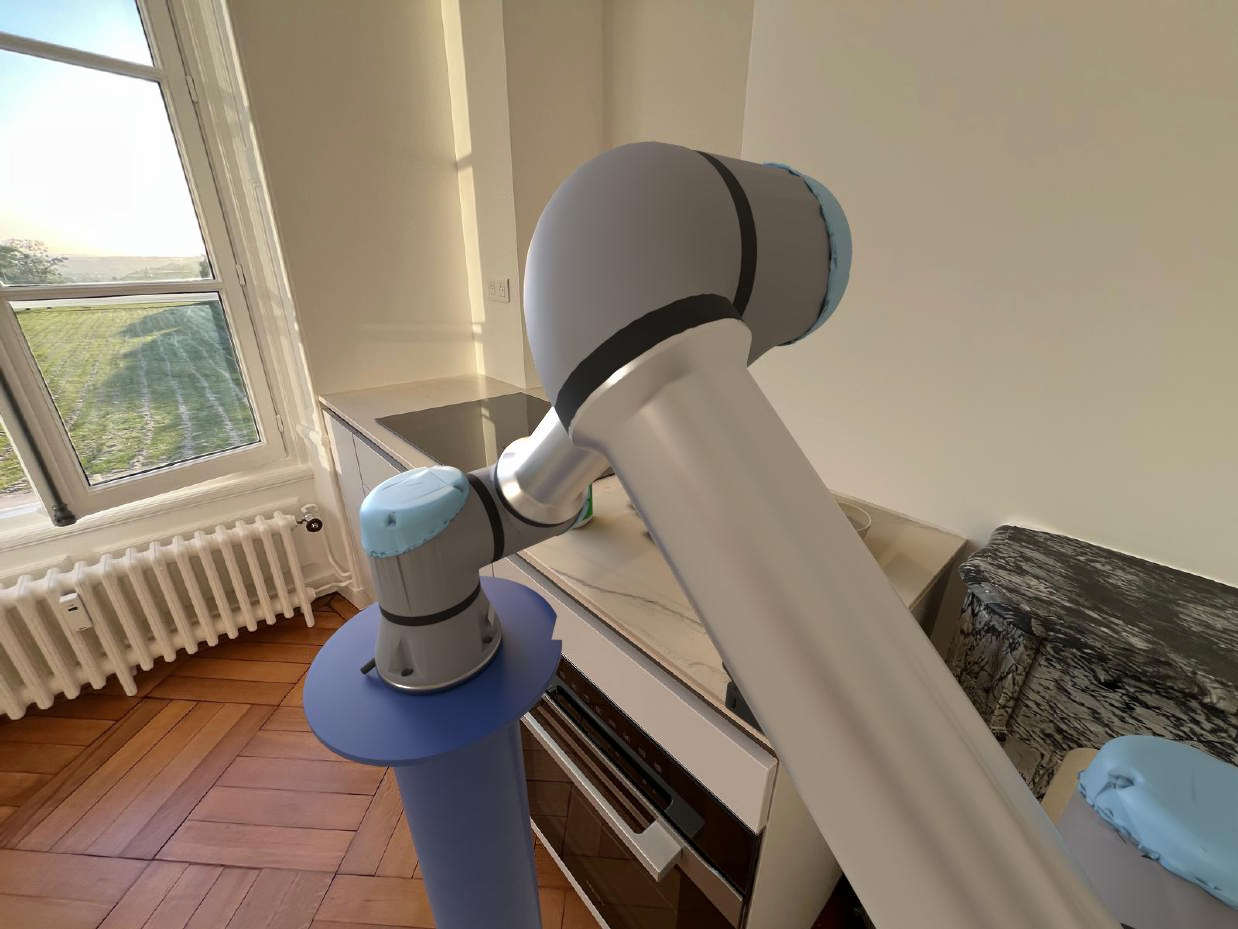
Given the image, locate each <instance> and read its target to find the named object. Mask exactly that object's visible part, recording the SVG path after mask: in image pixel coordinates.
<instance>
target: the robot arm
mask: <svg viewBox="0 0 1238 929" xmlns="http://www.w3.org/2000/svg"><path fill="white" fill-rule="evenodd" d="M844 211H845V210H844V209H843V208H842V205H841V204H840V202H839V201H838V199H837V197H836V196H835V195H834V194H833V192H832V191H830V189H829V188H828V187H827V186H825V185H824V184H823V183H822V182H820V181H819V180H817V179H816V178H813V177H811V176H809V175H806V174H803V173H802V172H800V171H798V170H796V169H794V168H792V167H791V166H789V165H787V164H785V163H777V162H773V161H770V162H769V161H768V162H766V161H765V162H762V163H758V162H754V161H749V160H744V159H739V158H735V157H730V156H726V155H721V154H717V153H712V152H706V151H703V150H697V149H691V148H689V147H686V146H684V145H678V144H673V143H667V142H662V141H656V140H653V141H652V140H651V141H639V142H632V143H625V144H622V145H620V146H615V147H613V148H610V149H607V150H605V151H603V152H601V153H599V154H597V155H596V156H594V157H592V158H590V159H589V160H588V161H586V162H584V163H582V164H581V165H580V166H578V168H577V169H576V170H574V172H572V173H571V174H570V175H569V176H568V177H567V178H566V179H564V181H563V182H561V184H560V185H558V188H557V189H556V190H555V191H554V193H553V194H552V196H551V198H550V199H549V201H548V202H547V205H545V207H544V208H543V211H542V213H541V214H540V216H539V218H538V219H537V220H538V221H537V224H536V226H535V229H534V232H533V235H532V237H531V241H530V244H529V247H528V251H527V255H526V262H525V267H524V268H525V270H524V278H523V312H524V320H525V328H526V335H527V336H526V337H527V340H528V344H529V348H530V352H531V356H532V359H533V363H534V364H533V365H534V367H535V371H536V373H537V376H538V378H539V381H540V382H541V386H542V388H543V390H544V393H545V396H546V397H547V399H548V401H549V402H550V404H551V408H550V409H549V410H548V412H547V413H546V415H544V418H543V419H542V420H541V422H540V423H539V424H538V426H537V427H536V429H535V430H534V431H533V433H532V434H531V435H529V436H524V437H521V438H518V439H517V440H515V441H513V442H512V443H510V445H508V446H507V447H506V448H505V449H504V451H503V453H502V454H501V455H500V457H499V458H498V459H497V461H496V463H494V464H492V465H489V466H485V467H482V468H479V469H475V470H472V471H469V472H466V473H464V472H463V471H461V469H458V468H457V467H454V466H450V465H441V464H439V465H434V466H431V467H428V466H422V467H421V466H420V467H416V468H413V469H409V470H406V471H404V472H401V473H399V474H397V475H394V476H392V477H390V478H388V479H386V480H385V481H383V482H381V483H380V484H378V485H377V486H376V487H374V488H373V489H371V491H370V492H369V494H368V495H367V496H366V497H365V498H364V499H363V501H362V503H361V505H360V507H359V508H360V509H359V515H358V516H359V524H360V534H361V545H362V548H363V550H364V552H365V553H366V557H367V562H368V565H369V566H368V567H369V570H370V574H371V578H372V582H373V587H374V590H375V595H376V599H377V602H378V603H379V608H380V612H381V615H380V621H379V626H378V632H377V638H376V643H375V649H374V658H372V659H371V660H370V661H369V662H368V663H366V664H365V665H364V666H363V667H361V668H360V671H361V672H362V674H364V675H366V674H367V673H368V672H369V671H371V670H372V669H373V668H374V667H376V669H377V673H378V676H379V678H380V680H381V681H382V682H383V684H385V685H386V686H387V687H388V688H390V689H391V690H393V691H395V692H398V693H401V694H405V695H411V696H428V695H435V694H440V693H444V692H448V691H451V690H453V689H456V688H459V687H461V686H463V685H465V684H467V683H468V682H470V681H472V680H473V679H475V678H476V677H478V676H479V675H480V674H482V673H483V672H484V671H485V670H486V669H487V668H488V667H489V666H490V665H491V664H492V662H493V661H494V660H495V658H496V657H497V655H498V653H499V651H500V648H501V644H502V630H501V623H500V620H499V618H498V615H497V613H496V611H495V610H494V608H493V606H492V605H491V603H490V601H489V600H488V598H487V596H486V594H485V593H484V591H483V589H482V588H481V583H480V576H481V575H480V570H481V569H482V568H485V567H486V566H489V565H491V564H493V563H494V564H495V563H496V562H499V561H500V560H503V559H506V558H508V557H509V556H512V555H514V554H517V553H518V552H519V553H520V552H521V551H524V550H526V549H529V548H530V547H534V546H535V545H538V544H540V543H542V542H545V541H547V540H550V539H552V538H554V537H560V536H562V535H564V534H566V533H568V532H569V531H570V530H572V529H574V528H573V527H574V526H576V525H577V524H579V523H580V522H581V521H582V519H583V518H584V516H585V515H586V513H587V510H588V507H589V503H588V501H587V499H588V498H589V497H590V487H589V485H590V484H591V483H592V484H593V482H595V481H596V480H597V479H598V478H599V477H600V476H601V475H602V474H603V473H605V472H606V470H608V469H609V468H610V467H611V469H612V471H613V473H614V475H615V476H616V478H617V480H618V481H619V483H620V485H621V486H622V489H623V490H624V491H625V494H626V495H627V497H628V498H629V500H630V502H631V504H632V507H633V508H634V507H635V508H634V509H635V511H636V512H637V514H638V516H639V518H640V519H641V521H642V522H643V525H644V527H645V529H646V531H647V533H648V532H649V533H650V535H651V537H652V541H653V542H654V544H655V546H656V547H657V549H658V551H659V552H660V554H661V556H662V558H663V560H664V561H665V564H666V565H667V567H668V568H669V570H670V572H671V574H672V575H673V578H674V579H675V581H676V582H677V584H678V586H679V588H680V589H681V591H682V593H683V594H684V596H685V598H686V600H687V602H688V603H689V605H690V607H691V608H692V610H693V613H695V616H696V618H697V619H698V620H699V621H698V622H700V624H701V626H702V628H703V629H704V631H705V633H706V634H707V637H708V638H709V640H710V642H711V643H712V645H713V647H714V649H715V651H716V652H717V654H718V655H719V657H720V659H721V666H722V668H723V670H724V672H725V674H726V675H727V677H728V678H729V679H730V681H728V682H727V684H726V692H725V701H724V706H725V709H727V710H728V711H730V712H731V713H732V714H734V715H735V716H736V717H738V718H739V719H740V720H742V721H743V722H745V723H746V724H748V725H749V726H750V727H752V729H755V730H756V731H757V732H758V733H760V734H761V735H763V736H764V737H766V740H767V741H768V743H769V744H770V747H771V748H772V750H773V751H774V753H775V755H776V756H777V758H778V760H779V762H780V763H781V765H782V767H783V769H784V771H785V772H786V774H787V776H788V777H789V779H790V781H791V783H792V785H793V786H794V788H795V790H796V792H797V793H798V795H799V797H800V798H801V800H802V802H803V804H804V805H805V807H806V809H807V810H808V812H809V814H810V816H811V817H812V820H813V821H814V823H815V824H816V826H817V829H818V830H819V831H820V833H821V835H822V837H823V839H824V841H825V842H826V844H827V846H828V847H829V849H830V851H831V853H832V854H833V856H834V858H835V860H836V861H837V863H838V865H839V866H840V868H841V870H842V872H843V873H844V875H845V877H846V878H847V880H848V882H849V884H850V885H851V887H852V890H853V891H854V892H855V894H856V896H857V898H858V899H859V901H860V903H861V905H862V906H863V908H864V910H865V912H866V913H867V915H868V917H869V919H870V921H871V923H872V924H873V925H874V927H875V929H1238V767H1237V766H1235V765H1234V764H1232V763H1229V762H1225V761H1223V760H1220V759H1219V758H1217V757H1215V756H1213V755H1210V754H1208V753H1206V752H1204V751H1202V750H1201V749H1199V748H1197V747H1195V746H1191V745H1189V744H1186V743H1184V742H1179V741H1176V740H1172V739H1168V738H1164V737H1161V736H1153V735H1146V734H1145V735H1144V734H1127V735H1126V734H1125V735H1121V736H1118V737H1115V738H1112V739H1110V740H1109V741H1107V742H1105V743H1104V744H1103V745H1102V746H1101V748H1100V749H1099V751H1098V752H1097V754H1096V755H1095V756H1094V758H1093V759H1092V760H1091V762H1090V764H1089V765H1088V766H1087V767H1086V769H1081V770H1080V771H1079V772H1077V775H1076V779H1077V780H1078V782H1077V783H1076V786H1075V788H1074V790H1073V792H1072V794H1071V795H1070V798H1069V799H1068V802H1067V804H1066V806H1065V807H1064V809H1063V811H1062V813H1061V816H1060V817H1059V819H1058V821H1057V823H1056V824H1054V822H1053V821H1052V820H1051V819H1050V817H1049V815H1048V814H1047V813H1046V811H1045V809H1044V808H1043V806H1042V805H1041V803H1040V802H1039V800H1038V799H1037V798H1036V796H1035V794H1034V793H1033V792H1032V790H1031V789H1030V787H1029V786H1028V785H1027V783H1026V782H1025V780H1024V778H1023V777H1022V775H1021V774H1020V772H1019V771H1018V769H1017V768H1016V766H1015V765H1014V764H1013V762H1012V760H1011V759H1010V757H1009V756H1008V754H1006V751H1005V750H1004V749H1003V747H1002V746H1001V744H1000V742H999V741H998V739H997V738H996V737H995V735H994V734H993V732H992V730H990V728H989V726H988V725H987V723H986V722H985V721H984V719H983V717H982V716H981V715H980V713H979V711H978V710H977V709H976V706H974V704H973V702H972V701H971V699H970V698H969V696H968V695H967V694H966V692H965V690H964V689H963V687H962V686H961V684H960V683H959V682H958V680H957V679H956V677H955V676H954V675H953V672H952V671H951V670H950V668H949V667H948V665H947V664H946V662H945V661H944V659H943V657H942V656H941V655H940V653H939V652H938V650H937V649H936V647H935V646H934V645H933V643H932V641H931V640H930V639H929V637H928V636H927V634H926V633H925V631H924V630H923V627H921V625H920V623H919V622H918V621H917V619H916V618H915V616H914V615H913V613H912V612H911V610H910V609H909V608H908V605H907V604H906V603H905V601H904V600H903V598H902V597H901V595H900V594H899V593H898V591H897V590H896V588H895V586H894V585H893V584H892V582H891V581H890V579H889V578H888V576H887V575H886V573H885V572H884V570H883V568H882V567H881V566H880V564H879V562H877V560H876V558H875V557H874V555H873V554H872V553H871V551H870V549H869V548H868V546H867V545H866V543H865V541H864V539H863V540H862V539H861V537H860V536H859V535H858V533H857V532H856V530H855V529H854V527H853V526H852V524H851V523H850V521H849V520H848V518H847V517H846V515H845V514H844V512H843V511H842V509H841V508H840V506H839V505H838V503H837V502H836V499H835V498H834V496H833V495H832V493H831V491H830V489H829V488H828V486H826V483H825V482H824V481H823V479H822V478H821V476H820V475H819V474H818V472H817V470H816V469H815V467H814V466H813V464H812V463H811V462H810V460H809V459H808V457H807V456H806V454H805V452H804V451H803V450H802V448H801V446H800V445H799V444H798V442H797V441H796V439H795V437H794V436H793V435H792V433H791V432H790V430H789V429H788V427H787V426H786V424H785V422H783V420H782V418H781V417H780V415H779V414H778V413H777V411H776V410H775V408H774V406H773V405H772V403H771V402H770V401H769V399H768V398H767V396H766V395H765V393H764V392H763V390H762V389H761V387H760V386H759V384H758V382H757V381H756V380H755V378H754V377H753V375H752V374H751V372H750V371H749V369H748V368H749V367H750V366H751V365H753V364H754V363H755V362H756V361H757V360H758V359H760V358H761V357H762V356H763V355H765V354H766V353H767V352H768V351H770V350H772V349H773V348H775V347H784V346H791V345H795V344H796V343H797V342H799V341H801V340H804V339H805V338H807V337H808V336H809V335H811V334H813V333H814V332H816V331H817V330H818V329H820V328H821V327H822V326H823V325H824V324H825V323H826V322H827V321H828V320H829V319H830V318H831V317H832V315H833V314H834V313H835V311H836V310H837V308H838V306H839V304H840V303H841V301H842V300H843V297H844V295H845V292H846V290H847V286H848V284H849V281H850V276H851V274H850V271H851V267H852V259H853V258H852V257H853V241H852V240H853V239H852V232H851V228H850V225H849V222H848V221H849V220H848V218H847V216H846V214H845V212H844ZM651 537H650V538H651Z"/></svg>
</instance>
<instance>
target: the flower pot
mask: <svg viewBox="0 0 1238 929" xmlns="http://www.w3.org/2000/svg"><path fill="white" fill-rule="evenodd" d="M835 500H836V499H835ZM836 502H837V503H838V505H839V506H840V508H841V509H842V511H843V512H844V514H845V515H846V517H847V518H848V520H849V521H850V523H851V524H852V526H853V527H854V529H855V530H856V532H857V533H858V535H859V536H860V537H861V539H862V540H863V541H864V539H865V538H866V536H867V535H868V532H869V530H870V528H871V527H872V526H871V525H872V523H873V519H872V516H870V514H869V513H868V512H867V511H866V510H865V509H863V508H861V507H859V506H857V505H854V504H852V503H849V502H845V501H841V500H836Z"/></svg>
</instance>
